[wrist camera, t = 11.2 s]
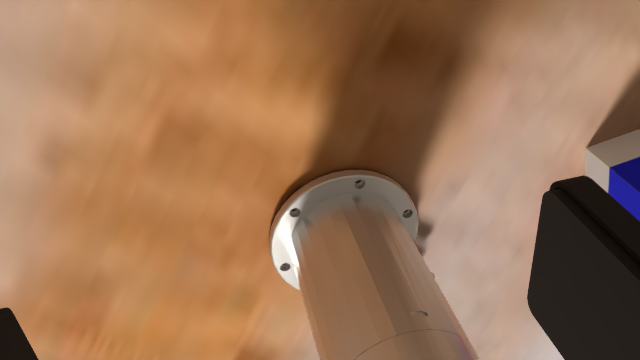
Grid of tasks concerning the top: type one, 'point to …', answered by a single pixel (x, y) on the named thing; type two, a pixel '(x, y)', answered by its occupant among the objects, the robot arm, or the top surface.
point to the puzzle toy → (617, 169)
